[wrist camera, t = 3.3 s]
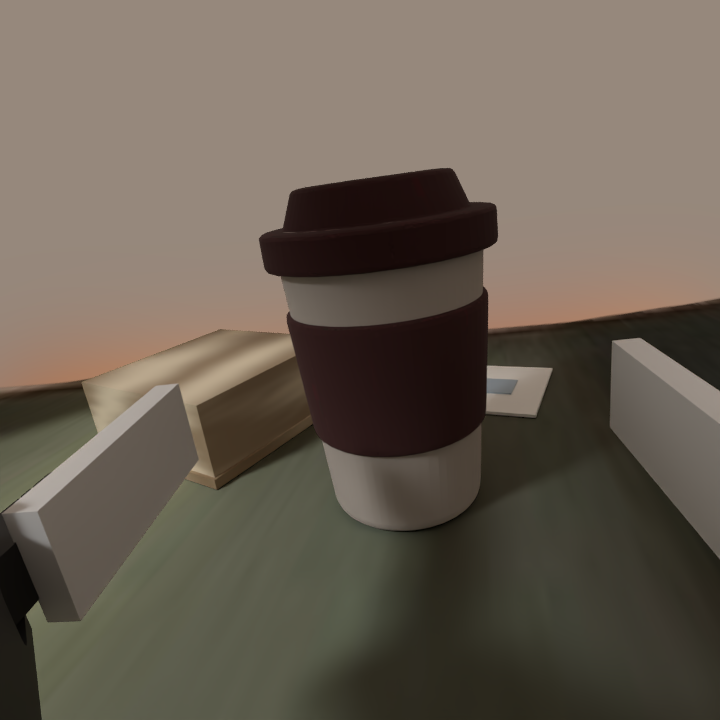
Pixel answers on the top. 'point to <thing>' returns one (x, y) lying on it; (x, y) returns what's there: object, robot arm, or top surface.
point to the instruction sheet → (516, 390)
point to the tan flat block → (217, 397)
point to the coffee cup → (391, 338)
